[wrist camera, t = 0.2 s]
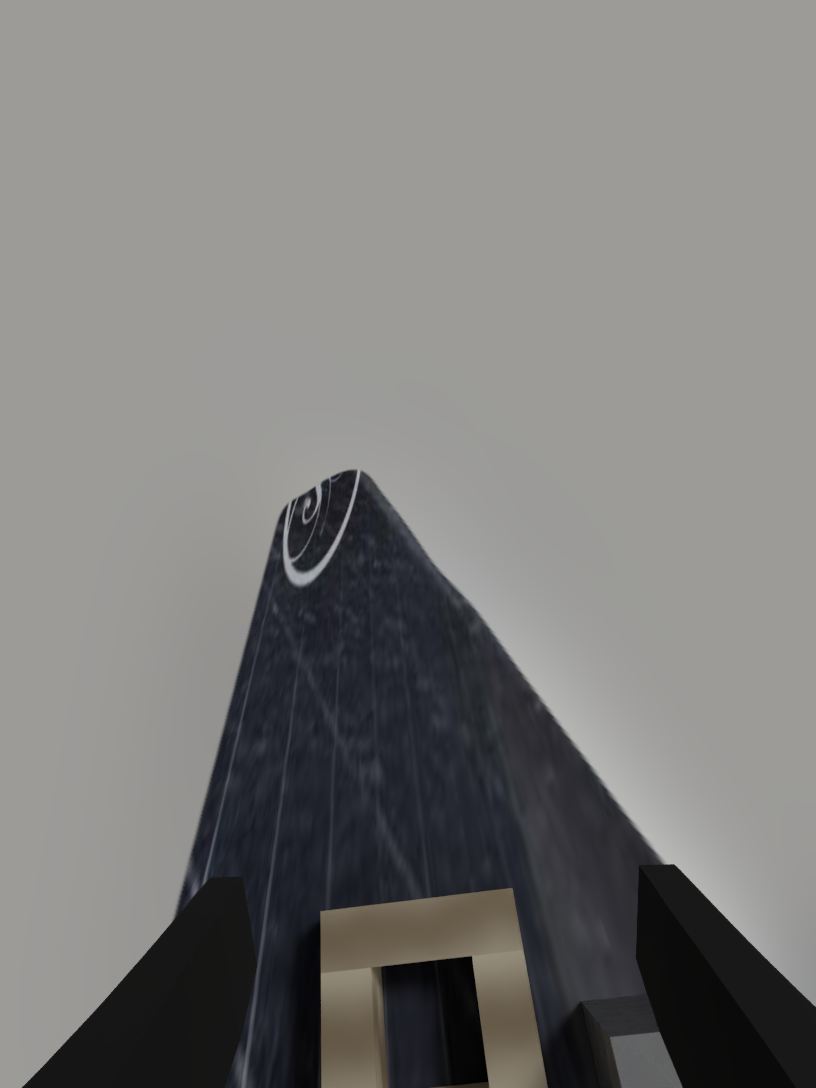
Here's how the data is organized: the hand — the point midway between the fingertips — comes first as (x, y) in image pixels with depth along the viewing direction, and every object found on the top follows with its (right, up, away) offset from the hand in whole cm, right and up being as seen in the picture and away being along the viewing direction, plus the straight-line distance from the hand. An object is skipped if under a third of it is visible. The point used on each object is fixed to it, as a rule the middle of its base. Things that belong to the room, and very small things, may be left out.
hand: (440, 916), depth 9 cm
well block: (+1, -22, +22) cm, 31 cm away
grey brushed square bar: (+12, -22, +21) cm, 32 cm away
